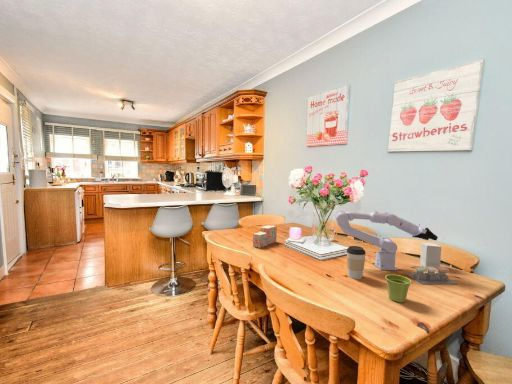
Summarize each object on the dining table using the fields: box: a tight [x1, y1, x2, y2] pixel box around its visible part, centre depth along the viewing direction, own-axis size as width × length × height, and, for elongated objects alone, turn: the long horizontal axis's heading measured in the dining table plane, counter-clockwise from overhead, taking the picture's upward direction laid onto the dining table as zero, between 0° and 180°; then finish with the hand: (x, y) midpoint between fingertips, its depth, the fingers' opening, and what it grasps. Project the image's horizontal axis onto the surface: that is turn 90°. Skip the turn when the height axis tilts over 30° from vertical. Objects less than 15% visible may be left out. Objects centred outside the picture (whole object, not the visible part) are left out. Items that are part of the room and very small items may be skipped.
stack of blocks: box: [252, 224, 278, 249], centre depth 183 cm, size 21×6×12 cm, turn 144°
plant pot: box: [385, 274, 412, 303], centre depth 105 cm, size 9×9×9 cm
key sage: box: [413, 266, 428, 275], centre depth 125 cm, size 4×4×4 cm
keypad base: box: [405, 272, 458, 285], centre depth 126 cm, size 17×12×2 cm
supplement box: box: [419, 242, 442, 268], centre depth 142 cm, size 7×7×13 cm
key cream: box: [424, 267, 439, 275], centre depth 125 cm, size 4×4×4 cm
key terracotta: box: [435, 266, 450, 275], centre depth 126 cm, size 4×4×4 cm
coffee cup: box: [346, 245, 367, 280], centre depth 127 cm, size 9×9×15 cm
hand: (432, 238), depth 134 cm, fingers open, 7 cm apart
